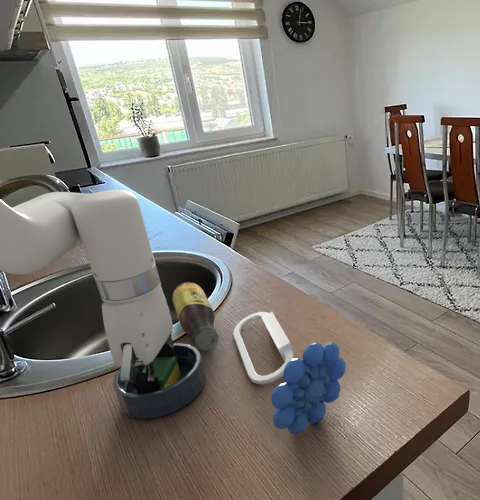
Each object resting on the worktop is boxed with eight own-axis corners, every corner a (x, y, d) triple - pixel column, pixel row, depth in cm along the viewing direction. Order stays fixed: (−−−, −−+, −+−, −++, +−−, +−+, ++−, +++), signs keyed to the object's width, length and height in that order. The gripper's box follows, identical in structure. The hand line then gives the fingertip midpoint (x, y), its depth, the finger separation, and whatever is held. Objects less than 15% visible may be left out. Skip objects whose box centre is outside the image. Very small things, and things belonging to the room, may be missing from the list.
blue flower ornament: (329, 384, 63) (321, 317, 58) (359, 408, 58) (352, 336, 53) (261, 427, 56) (246, 354, 51) (288, 458, 51) (274, 380, 46)
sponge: (141, 400, 62) (134, 382, 60) (156, 375, 67) (150, 357, 65) (167, 399, 62) (162, 380, 60) (180, 374, 67) (176, 356, 65)
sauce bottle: (208, 292, 89) (235, 339, 73) (185, 312, 88) (208, 364, 72) (187, 273, 85) (210, 318, 69) (162, 294, 84) (181, 345, 68)
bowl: (106, 425, 58) (96, 400, 57) (142, 368, 70) (135, 346, 68) (192, 417, 59) (185, 392, 57) (215, 362, 70) (209, 340, 68)
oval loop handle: (234, 334, 80) (225, 319, 78) (272, 313, 82) (264, 298, 80) (259, 400, 63) (248, 383, 61) (306, 372, 65) (297, 355, 63)
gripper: (130, 257, 65) (158, 352, 72) (64, 316, 49) (109, 431, 56) (178, 254, 65) (202, 349, 72) (127, 312, 49) (164, 426, 56)
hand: (160, 384), depth 64 cm, fingers closed on sponge, 5 cm apart
